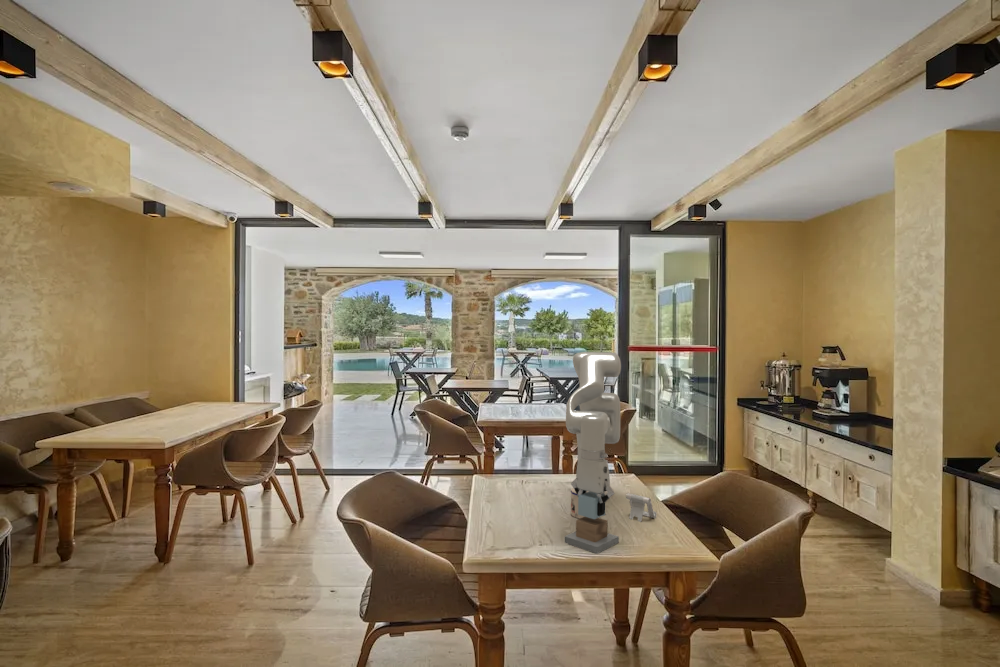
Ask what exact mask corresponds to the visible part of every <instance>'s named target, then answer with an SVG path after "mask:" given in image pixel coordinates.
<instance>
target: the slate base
mask: <svg viewBox="0 0 1000 667" xmlns="http://www.w3.org/2000/svg"><path fill="white" fill-rule="evenodd" d="M619 538H620V537H619V535H616V534H612V533H609V532H607V537H605V538H603V539H601V540H599V541H597V542H592V541H589V540H586V539H583V538H580V537H577V536H576V530H575V531H573V532H570V533H569V534H567V535H565V536H564V544H568V545H571V546H573V547H577V548H579V549H582V550H585V551H588V552H591V553H594V554H596V555H598V554H599V553H601V552H604V551H605V550H607V549H610V548H612V547H613V546H615V545H618V544H619V540H620V539H619Z"/></svg>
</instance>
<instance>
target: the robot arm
mask: <svg viewBox="0 0 1000 667" xmlns="http://www.w3.org/2000/svg"><path fill="white" fill-rule="evenodd" d="M572 364H573V369H574V371H575V372H576V375H577V377H578V382H579V387H578V388H577V389H576V390H574V392H573V393H572V394H571V395H570V397H569V398H568V400H567V402H566V408H565V427H566V429H567V431H568V432H569V433H570V434H574V435H576V443H577V465H576V473H575V474H576V475H575V478H574V479H573V481H571V483H570V485H571V487H572V488H574V489H575V492H576V493H577V496H578V495H581V494H584V493H586V492H587V491H589V492H593V493H597V497H598V500H599V503H598V504H597V515H598V516H601V515H603V516H605V515H606V503H607V502H608V500H610V498H611V497H613V496H614V495H615V491H614V489H613V488H612V487H611V484H610V483H611V481H610V480H611V479H610V468H609V463H608V460H607V459H608V457H609V456H608V453H606V450H605V447H606V446H605V445H606V444H609V445H610V444H612V445H615V444H618V443H619V441H620V439H621V438H620V437H621V400H620V397H619V395H618V394H616V393H613V392H605V378H618V377H619V376H620V374H621V371H622V361H621V359H620V356H619V355H618V354H617V353H616V352H602V351H601V352H598V351H585V352H584V351H583V352H582V351H581V352H577V353H575V354H574V355H573V357H572ZM577 407H579V410H576V408H577ZM601 495H602V496H601ZM604 514H605V515H604ZM601 517H602V516H601Z"/></svg>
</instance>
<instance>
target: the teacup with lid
mask: <svg viewBox="0 0 1000 667" xmlns="http://www.w3.org/2000/svg"><path fill="white" fill-rule="evenodd" d="M587 492H589V491H587ZM587 492H586V493H587ZM570 493H571V494H570V498H571V500H570V515H571V516H572V517H574V518H577V519H580V518H583V517H585V516H581V515H578V496H577V493H576V492H575V489H574V488H573V487H572V488H571V489H570Z"/></svg>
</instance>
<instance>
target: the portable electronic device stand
mask: <svg viewBox="0 0 1000 667" xmlns="http://www.w3.org/2000/svg"><path fill="white" fill-rule="evenodd" d="M625 499H626V500H629V503H630V511H629V518H628V519H629V520H633V519H634V517H636V518H637V522H640V523H642V521H643V517H648V518H651V519H656V518H657V516H658V514H657V511H654V508H653V504H652V500H651V497H648V496H647V497H646V496H642V495H639V494H635V493H629V492H627V493H626V494H625ZM645 506H646V507H647V511H645ZM633 521H634V520H633Z"/></svg>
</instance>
